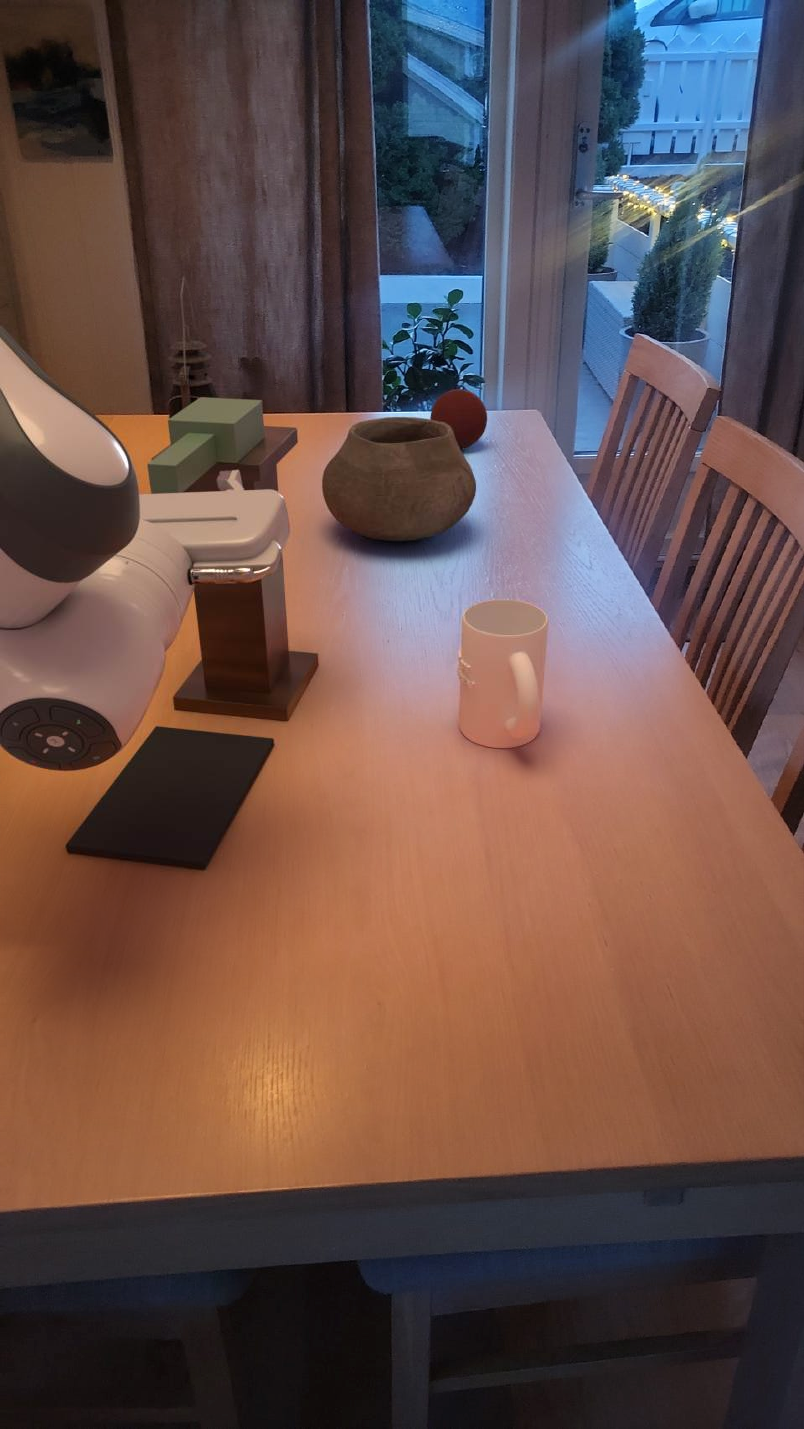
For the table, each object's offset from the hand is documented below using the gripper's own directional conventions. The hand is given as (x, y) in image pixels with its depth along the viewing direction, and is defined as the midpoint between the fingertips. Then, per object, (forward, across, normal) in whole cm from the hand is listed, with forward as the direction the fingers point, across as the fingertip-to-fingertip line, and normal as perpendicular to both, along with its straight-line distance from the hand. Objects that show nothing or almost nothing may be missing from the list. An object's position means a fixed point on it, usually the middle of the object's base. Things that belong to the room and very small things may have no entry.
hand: (174, 480), depth 82 cm
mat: (-10, +3, +26) cm, 28 cm away
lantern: (+80, +25, +43) cm, 94 cm away
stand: (+9, +1, +30) cm, 31 cm away
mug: (+1, -26, +30) cm, 40 cm away
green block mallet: (+8, 0, +3) cm, 9 cm away
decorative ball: (+95, -17, +50) cm, 109 cm away
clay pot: (+54, -10, +40) cm, 68 cm away
